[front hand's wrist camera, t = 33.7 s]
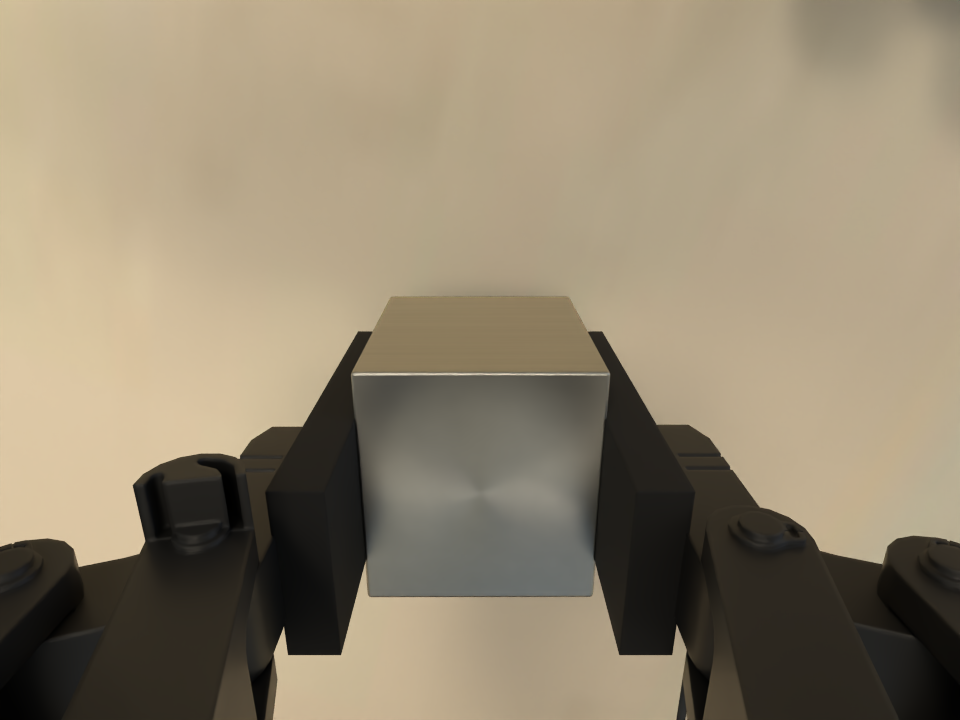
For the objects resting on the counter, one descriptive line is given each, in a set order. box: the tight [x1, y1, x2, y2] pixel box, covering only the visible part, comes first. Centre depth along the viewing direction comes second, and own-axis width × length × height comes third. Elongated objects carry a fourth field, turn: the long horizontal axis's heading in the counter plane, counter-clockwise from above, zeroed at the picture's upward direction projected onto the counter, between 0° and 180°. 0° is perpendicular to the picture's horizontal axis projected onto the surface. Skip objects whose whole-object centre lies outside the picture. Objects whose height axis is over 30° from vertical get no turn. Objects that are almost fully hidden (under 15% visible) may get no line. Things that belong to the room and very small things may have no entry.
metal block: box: [351, 297, 610, 597], centre depth 12 cm, size 4×4×5 cm
